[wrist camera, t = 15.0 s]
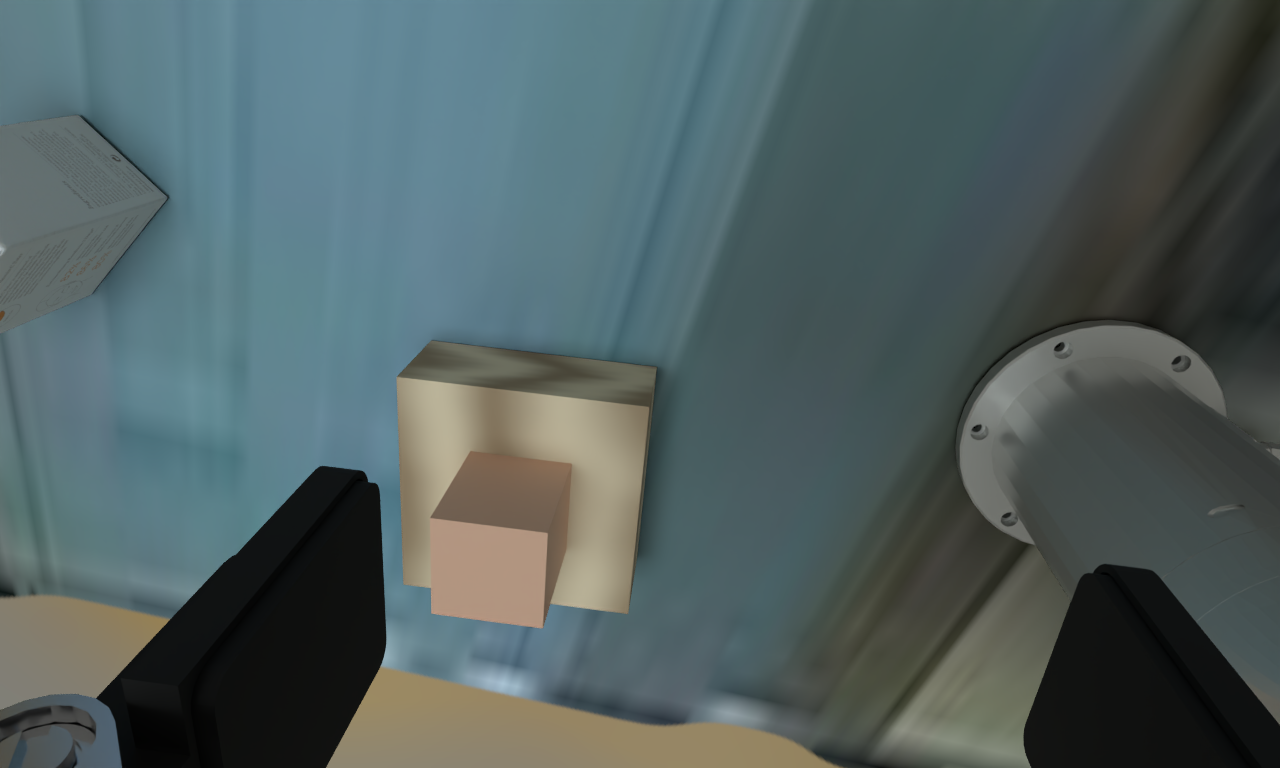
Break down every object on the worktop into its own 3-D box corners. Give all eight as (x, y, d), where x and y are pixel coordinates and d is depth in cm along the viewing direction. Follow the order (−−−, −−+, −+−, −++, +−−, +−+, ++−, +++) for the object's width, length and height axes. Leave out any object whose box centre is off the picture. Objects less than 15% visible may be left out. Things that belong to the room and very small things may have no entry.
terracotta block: (571, 463, 39) (547, 533, 34) (566, 549, 41) (542, 628, 36) (470, 451, 40) (430, 518, 34) (469, 537, 42) (431, 613, 36)
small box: (81, 111, 40) (-123, 136, 30) (173, 198, 41) (6, 248, 32) (3, 219, 42) (-208, 274, 33) (92, 297, 44) (-86, 371, 34)
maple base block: (656, 367, 42) (649, 407, 38) (636, 557, 47) (627, 614, 43) (431, 340, 43) (396, 376, 38) (433, 531, 48) (403, 584, 43)
